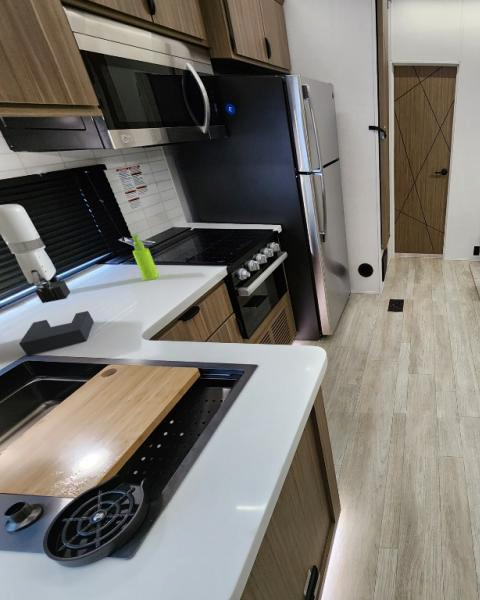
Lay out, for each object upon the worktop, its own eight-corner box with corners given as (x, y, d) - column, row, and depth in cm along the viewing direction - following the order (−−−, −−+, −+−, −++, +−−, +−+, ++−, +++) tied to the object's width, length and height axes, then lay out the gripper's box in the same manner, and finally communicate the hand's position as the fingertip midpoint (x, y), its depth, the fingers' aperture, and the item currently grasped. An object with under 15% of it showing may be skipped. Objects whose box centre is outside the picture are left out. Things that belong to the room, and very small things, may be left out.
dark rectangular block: (27, 355, 100) (18, 343, 98) (40, 333, 110) (33, 322, 108) (86, 341, 106) (80, 329, 104) (93, 321, 117) (88, 310, 115)
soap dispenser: (157, 273, 154) (140, 231, 145) (160, 277, 150) (144, 234, 141) (142, 277, 151) (124, 234, 141) (145, 281, 146) (127, 237, 137)
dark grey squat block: (42, 303, 108) (35, 291, 106) (47, 296, 113) (40, 284, 111) (66, 298, 111) (59, 286, 109) (70, 291, 116) (64, 280, 113)
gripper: (19, 240, 108) (48, 289, 116) (-1, 256, 95) (33, 310, 103) (50, 236, 111) (75, 284, 120) (34, 251, 98) (64, 303, 107)
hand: (55, 295), depth 112 cm, fingers closed on dark grey squat block, 6 cm apart
